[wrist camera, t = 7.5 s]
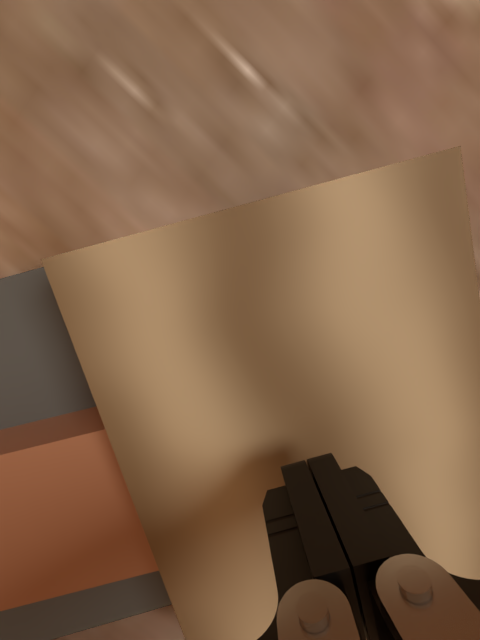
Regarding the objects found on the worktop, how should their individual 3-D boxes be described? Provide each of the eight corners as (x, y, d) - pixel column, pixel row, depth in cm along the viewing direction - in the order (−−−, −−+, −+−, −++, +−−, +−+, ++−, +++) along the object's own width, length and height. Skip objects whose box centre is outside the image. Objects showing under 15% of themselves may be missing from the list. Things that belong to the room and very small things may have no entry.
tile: (132, 397, 15) (117, 426, 13) (170, 522, 16) (164, 569, 14) (-91, 451, 15) (-148, 491, 12) (-33, 573, 16) (-76, 631, 14)
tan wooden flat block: (391, 173, 14) (460, 145, 10) (448, 517, 18) (516, 595, 14) (88, 255, 14) (40, 259, 10) (205, 588, 17) (204, 689, 13)
